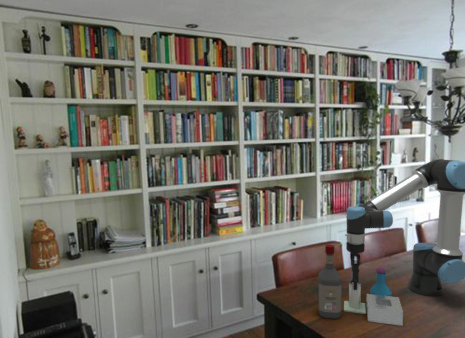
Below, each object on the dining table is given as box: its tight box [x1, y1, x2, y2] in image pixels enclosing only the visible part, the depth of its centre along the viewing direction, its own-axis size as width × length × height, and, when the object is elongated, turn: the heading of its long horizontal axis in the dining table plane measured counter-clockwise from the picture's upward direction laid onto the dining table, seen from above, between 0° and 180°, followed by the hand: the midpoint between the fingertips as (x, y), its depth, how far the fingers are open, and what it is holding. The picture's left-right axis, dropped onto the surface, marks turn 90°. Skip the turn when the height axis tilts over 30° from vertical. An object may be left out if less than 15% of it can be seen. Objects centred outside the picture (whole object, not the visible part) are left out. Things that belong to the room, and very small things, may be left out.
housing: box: [365, 293, 404, 327], centre depth 149 cm, size 13×13×6 cm
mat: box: [343, 300, 367, 315], centre depth 156 cm, size 9×9×1 cm
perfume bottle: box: [369, 267, 393, 297], centre depth 162 cm, size 9×9×15 cm
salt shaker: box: [348, 277, 362, 309], centre depth 156 cm, size 5×5×12 cm
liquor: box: [317, 244, 342, 320], centre depth 150 cm, size 9×9×30 cm
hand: (354, 291), depth 156 cm, fingers open, 10 cm apart
